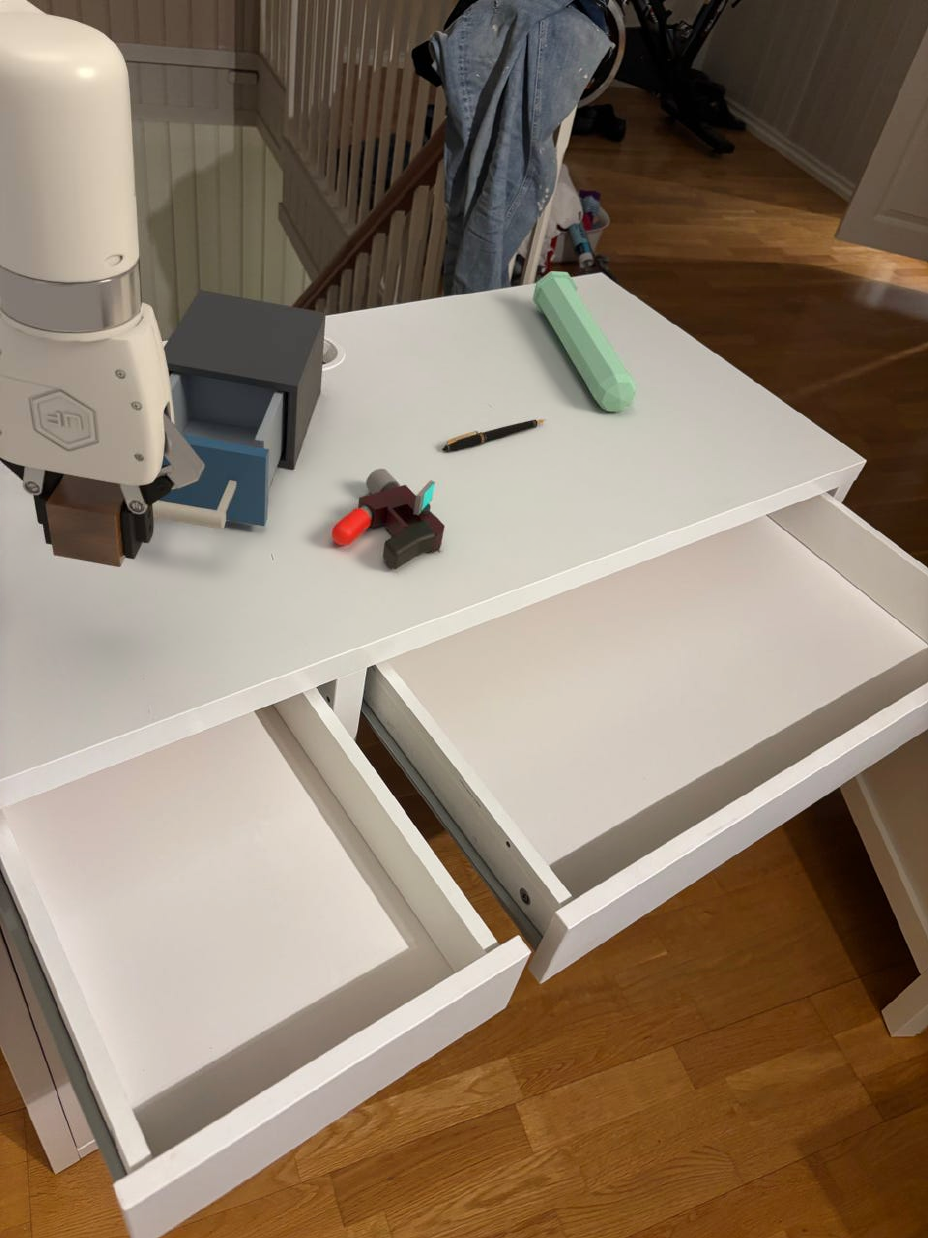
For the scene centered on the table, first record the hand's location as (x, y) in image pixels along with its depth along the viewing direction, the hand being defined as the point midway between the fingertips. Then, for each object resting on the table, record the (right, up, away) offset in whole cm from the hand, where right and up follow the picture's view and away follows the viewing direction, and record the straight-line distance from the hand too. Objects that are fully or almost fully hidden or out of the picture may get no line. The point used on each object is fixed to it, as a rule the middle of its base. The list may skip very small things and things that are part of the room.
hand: (98, 536), depth 64 cm
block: (0, 0, 0) cm, 0 cm away
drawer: (+2, +6, +21) cm, 22 cm away
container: (+39, +26, +52) cm, 70 cm away
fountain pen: (+28, +13, +36) cm, 48 cm away
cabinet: (+3, +15, +31) cm, 34 cm away
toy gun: (+17, +2, +22) cm, 28 cm away
